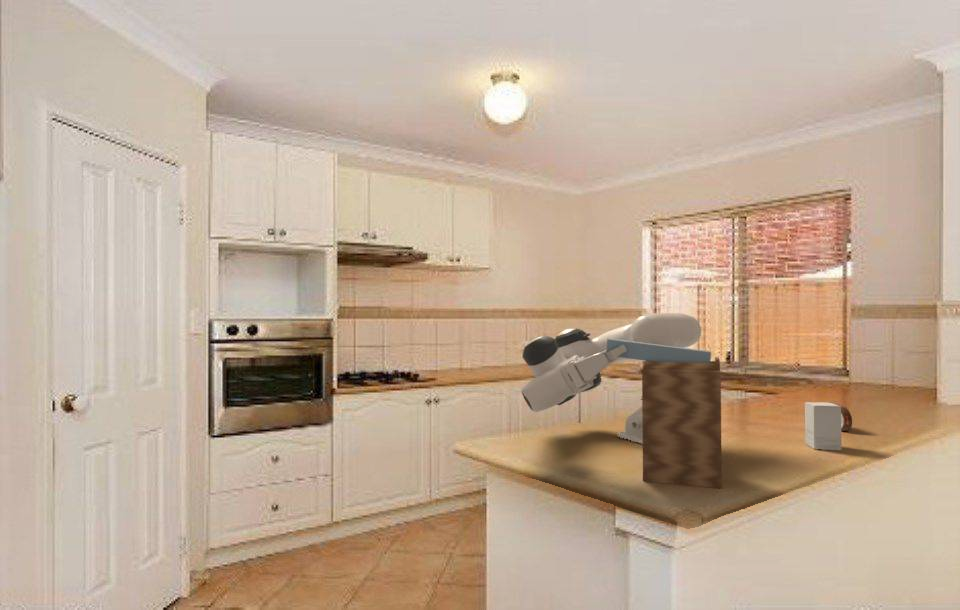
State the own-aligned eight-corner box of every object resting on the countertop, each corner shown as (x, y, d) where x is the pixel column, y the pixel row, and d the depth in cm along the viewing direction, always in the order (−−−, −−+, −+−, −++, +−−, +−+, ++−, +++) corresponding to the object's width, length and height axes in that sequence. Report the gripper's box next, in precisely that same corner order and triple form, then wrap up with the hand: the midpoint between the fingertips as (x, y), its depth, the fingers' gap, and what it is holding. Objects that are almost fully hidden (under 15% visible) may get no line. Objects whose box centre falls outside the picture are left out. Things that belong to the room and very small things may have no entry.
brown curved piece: (853, 433, 187) (853, 407, 187) (843, 433, 187) (843, 407, 187) (826, 424, 202) (825, 400, 202) (816, 424, 202) (816, 400, 202)
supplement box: (842, 450, 163) (841, 406, 163) (813, 449, 165) (813, 405, 165) (832, 445, 170) (831, 402, 171) (804, 444, 172) (804, 401, 172)
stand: (642, 480, 135) (642, 358, 135) (647, 465, 148) (646, 354, 148) (721, 488, 129) (720, 360, 129) (719, 472, 142) (718, 356, 142)
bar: (605, 355, 143) (607, 339, 143) (607, 354, 147) (609, 338, 147) (709, 369, 135) (711, 352, 135) (708, 367, 138) (710, 351, 138)
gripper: (591, 379, 156) (637, 354, 152) (577, 388, 137) (629, 361, 133) (580, 358, 158) (625, 334, 153) (564, 365, 138) (615, 337, 134)
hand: (627, 346), depth 143 cm, fingers closed on bar, 4 cm apart
